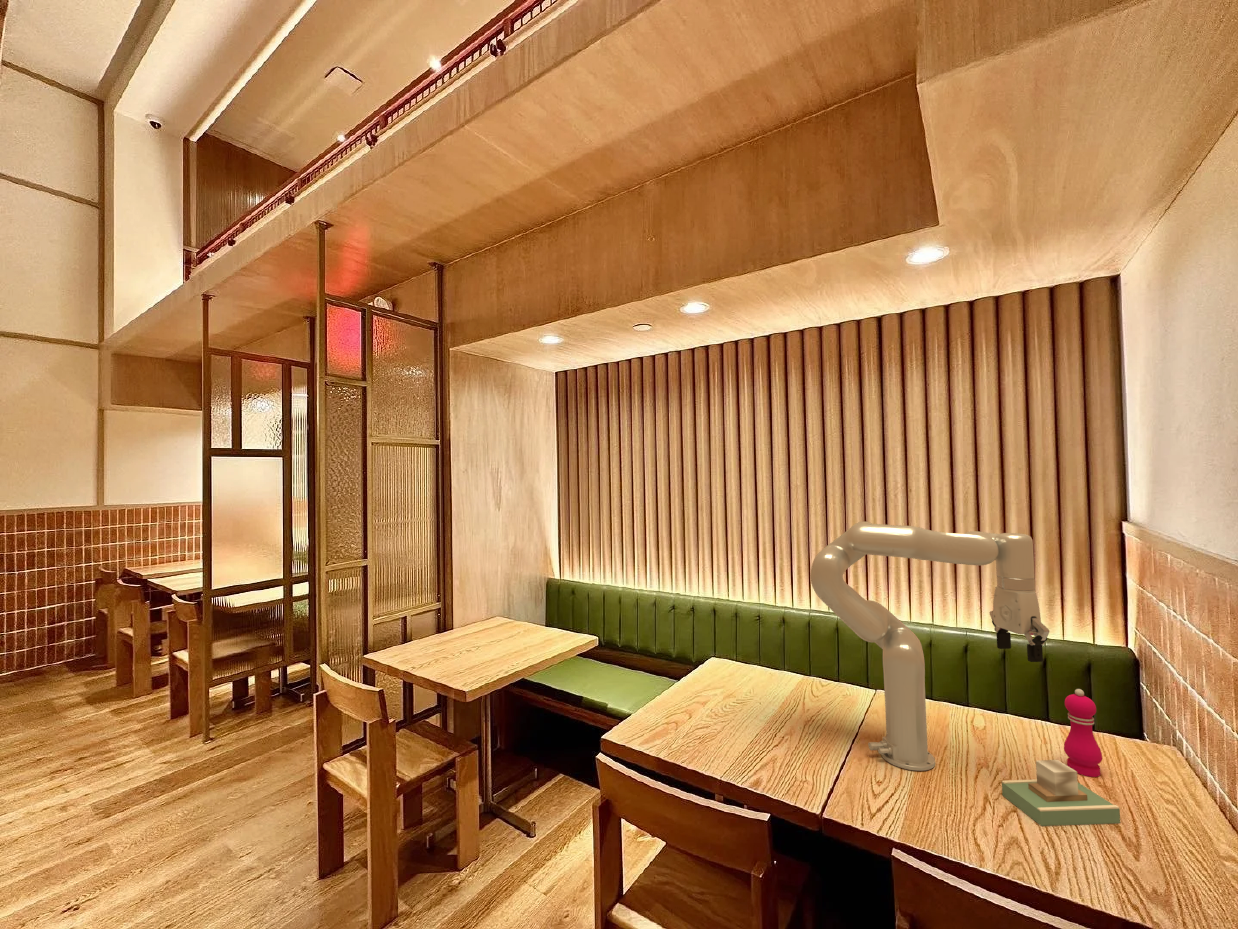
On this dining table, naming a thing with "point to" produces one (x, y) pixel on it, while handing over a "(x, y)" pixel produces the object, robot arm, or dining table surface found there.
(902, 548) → the robot arm
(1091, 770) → the pepper mill
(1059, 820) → the dock
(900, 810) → the dining table surface
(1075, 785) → the butter dish
